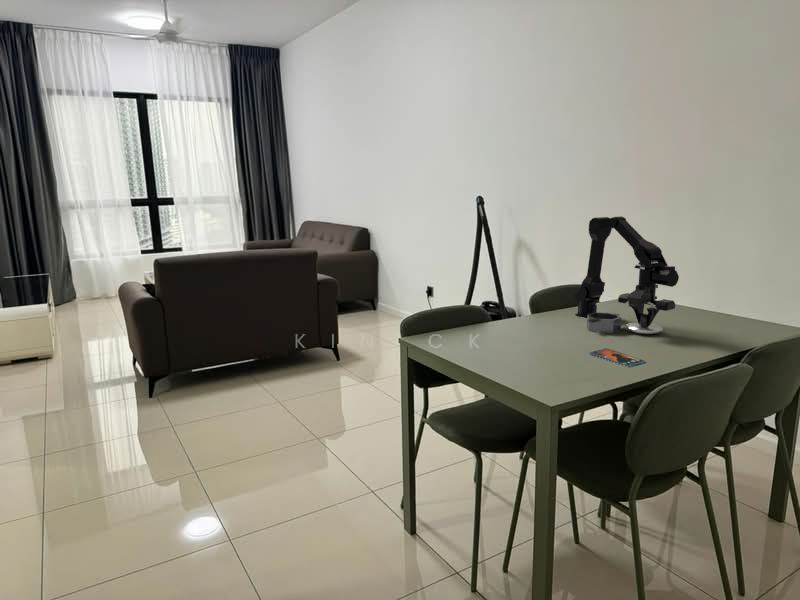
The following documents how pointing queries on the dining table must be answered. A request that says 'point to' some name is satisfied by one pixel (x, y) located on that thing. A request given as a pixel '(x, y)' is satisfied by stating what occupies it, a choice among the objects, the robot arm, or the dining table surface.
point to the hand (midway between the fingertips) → (644, 325)
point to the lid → (643, 326)
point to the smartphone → (617, 357)
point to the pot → (604, 322)
